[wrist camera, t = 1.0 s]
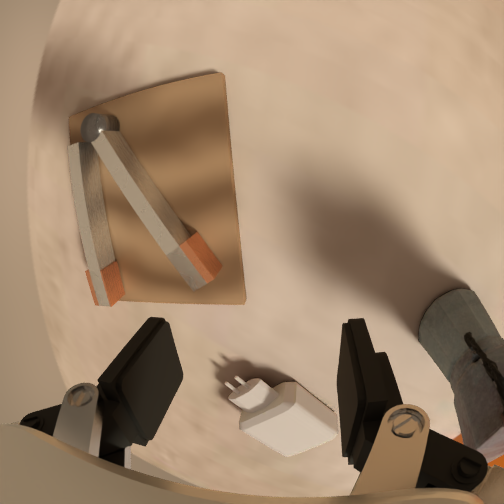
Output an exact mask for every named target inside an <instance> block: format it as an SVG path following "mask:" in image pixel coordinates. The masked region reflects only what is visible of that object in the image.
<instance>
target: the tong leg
mask: <svg viewBox="0 0 504 504" xmlns="http://www.w3.org/2000/svg"><path fill="white" fill-rule="evenodd" d="M80 132H81V136H82V138H83V140H84V141H86V142H91V143H92V145H93V146H94V148H95V150H96V151H97V153H98V155H99V156H100V158H101V160H102V161H103V163H104V164H105V166H106V168H107V169H108V171H109V172H110V174H111V175H112V177H113V179H114V180H115V182H116V183H117V185H118V186H119V188H120V189H121V191H122V192H123V194H124V195H125V197H126V199H127V200H128V202H129V203H130V205H131V206H132V207H133V209H134V210H135V212H136V213H137V215H138V216H139V218H140V219H141V221H142V222H143V224H144V225H145V226H146V228H147V229H148V231H149V232H150V234H151V235H152V236H153V238H154V239H155V241H156V242H157V243H158V245H159V246H160V248H161V249H162V250H163V252H164V253H165V254H166V256H167V257H168V259H169V260H170V261H171V263H172V264H173V265H174V267H175V268H176V269H177V271H178V272H179V273H180V275H181V276H182V277H183V279H184V280H185V281H186V283H187V284H188V285H189V286H190V288H191V289H192V290H193V292H194V291H196V290H197V289H199V288H201V287H202V286H204V285H206V284H207V283H209V282H210V281H212V280H214V279H215V277H216V276H217V274H218V273H219V271H220V270H221V268H222V265H221V263H220V262H219V260H218V259H217V258H216V256H215V255H214V254H213V252H212V251H211V249H210V248H209V247H208V245H207V244H206V243H205V241H204V240H203V238H202V237H201V236H200V234H199V233H198V232H196V233H195V234H193V235H192V236H191V235H190V234H189V232H188V231H187V229H186V228H185V227H184V225H183V224H182V222H181V221H180V220H179V218H178V217H177V215H176V214H175V213H174V211H173V210H172V208H171V207H170V205H169V204H168V203H167V201H166V200H165V198H164V197H163V195H162V194H161V193H160V191H159V190H158V188H157V187H156V185H155V184H154V182H153V181H152V179H151V178H150V176H149V175H148V174H147V172H146V171H145V169H144V168H143V166H142V165H141V163H140V162H139V160H138V159H137V157H136V156H135V154H134V153H133V151H132V150H131V148H130V147H129V145H128V144H127V142H126V141H125V139H124V137H123V136H122V134H121V133H120V122H119V120H118V118H117V117H116V116H114V115H107V114H98V113H91V114H88V115H87V116H86V117H85V118H84V119H83V121H82V124H81V128H80Z"/></svg>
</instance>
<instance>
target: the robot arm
mask: <svg viewBox="0 0 504 504" xmlns="http://www.w3.org/2000/svg"><path fill="white" fill-rule="evenodd" d="M182 380H183V371H182V367H181V364H180V361H179V357H178V354H177V350H176V347H175V343H174V339H173V336H172V332H171V328H170V324H169V323H168V322H166V321H165V319H164V318H158V317H150V318H148V319H147V321H146V322H145V323H144V324H143V325H142V326H141V328H140V329H139V330H138V331H137V332H136V334H135V335H134V336H133V337H132V338H131V340H130V341H129V342H128V343H127V344H126V346H125V347H124V348H123V349H122V350H121V352H120V353H119V354H118V355H117V356H116V358H115V359H114V360H113V361H112V363H111V364H110V365H109V366H108V367H107V369H106V370H105V371H104V372H103V374H102V375H101V376H100V377H99V379H98V382H99V384H98V385H97V387H96V386H95V385H93V384H90V383H80V384H77V385H75V386H73V387H71V388H70V389H69V390H68V391H67V392H66V394H65V396H64V399H63V402H62V404H60V405H57V406H53V407H50V408H47V409H43V410H40V411H36V412H32V413H30V414H28V415H26V416H25V417H24V418H23V419H22V420H21V422H20V423H19V422H15V423H11V424H0V504H504V468H502V467H499V466H497V465H494V466H493V467H490V466H488V464H487V461H486V458H485V457H484V456H483V454H482V453H480V452H478V451H477V450H474V449H472V448H470V447H468V446H465V445H463V444H461V443H459V442H456V441H454V440H452V439H450V438H448V437H446V436H443V435H441V434H439V433H437V432H435V431H433V430H431V429H429V428H430V420H429V417H428V415H427V413H426V412H425V411H424V410H423V409H421V408H419V407H418V406H414V405H411V404H403V402H402V399H401V395H400V392H399V389H398V386H397V383H396V380H395V377H394V374H393V371H392V368H391V365H390V362H389V359H388V356H387V354H386V353H385V352H378V353H375V351H374V348H373V345H372V342H371V338H370V335H369V332H368V329H367V326H366V323H365V320H364V318H359V319H348V323H343V325H342V335H341V346H340V356H339V365H338V373H337V392H338V403H339V415H340V428H341V442H342V456H343V457H348V465H352V464H354V468H355V469H356V470H358V471H359V472H360V475H359V477H358V479H357V481H356V483H355V485H354V488H353V490H352V492H351V494H350V496H337V497H269V496H256V495H246V494H237V493H229V492H222V491H216V490H210V489H204V488H199V487H194V486H188V485H184V484H180V483H176V482H172V481H168V480H164V479H160V478H156V477H153V476H149V475H146V474H143V473H140V472H137V471H134V470H131V445H132V443H135V444H139V445H142V446H146V445H147V443H148V441H149V440H152V439H153V438H154V436H155V434H156V432H157V430H158V428H159V426H160V424H161V422H162V420H163V418H164V416H165V414H166V412H167V410H168V408H169V406H170V404H171V402H172V400H173V398H174V396H175V394H176V392H177V390H178V388H179V386H180V384H181V382H182Z"/></svg>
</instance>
